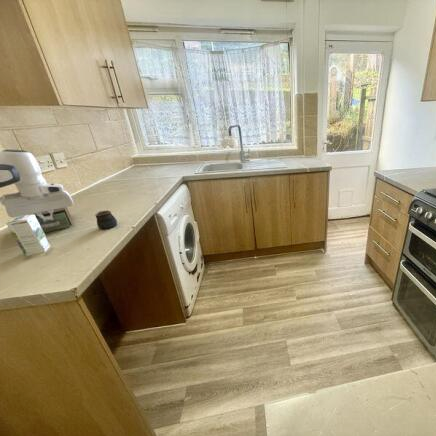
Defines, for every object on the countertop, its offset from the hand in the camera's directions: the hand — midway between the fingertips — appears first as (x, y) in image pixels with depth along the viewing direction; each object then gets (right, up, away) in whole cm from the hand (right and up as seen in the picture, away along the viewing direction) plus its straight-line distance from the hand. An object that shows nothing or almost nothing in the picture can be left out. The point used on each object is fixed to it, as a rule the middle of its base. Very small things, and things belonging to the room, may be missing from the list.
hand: (48, 220), depth 105 cm
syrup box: (+9, -12, -13) cm, 20 cm away
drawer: (-5, -3, +7) cm, 9 cm away
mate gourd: (+22, -4, +5) cm, 23 cm away
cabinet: (-8, -2, +11) cm, 13 cm away
